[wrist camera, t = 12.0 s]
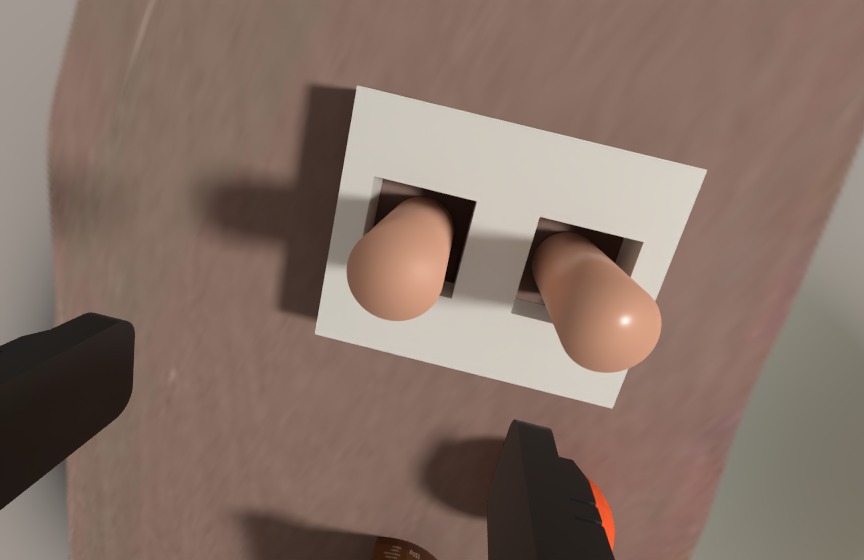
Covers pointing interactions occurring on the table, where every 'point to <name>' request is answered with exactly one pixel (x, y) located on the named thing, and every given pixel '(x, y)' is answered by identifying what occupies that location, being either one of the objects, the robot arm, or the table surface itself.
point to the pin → (402, 260)
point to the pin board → (514, 246)
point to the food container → (398, 550)
